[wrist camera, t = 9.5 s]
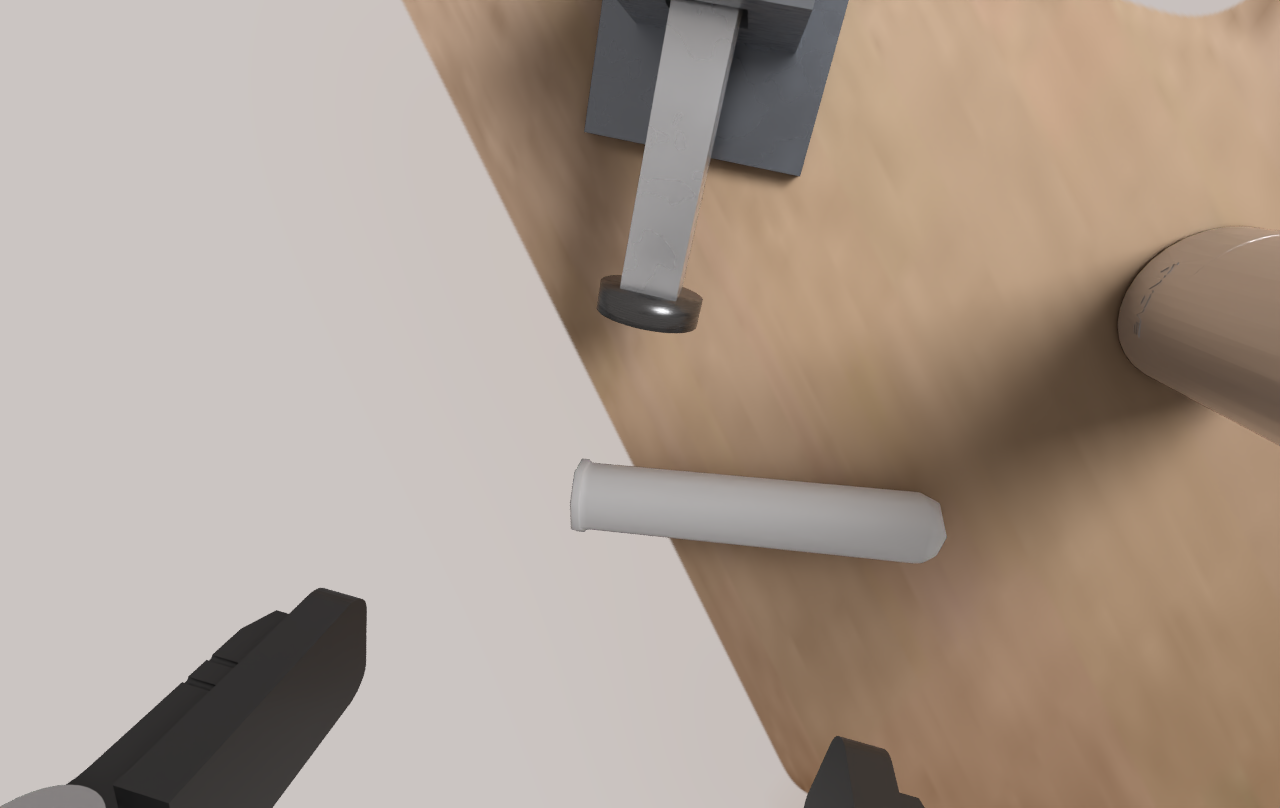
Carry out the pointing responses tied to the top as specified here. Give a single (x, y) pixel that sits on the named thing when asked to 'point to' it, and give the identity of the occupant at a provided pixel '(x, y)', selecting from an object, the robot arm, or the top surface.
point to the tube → (757, 512)
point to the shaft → (674, 170)
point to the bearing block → (757, 84)
